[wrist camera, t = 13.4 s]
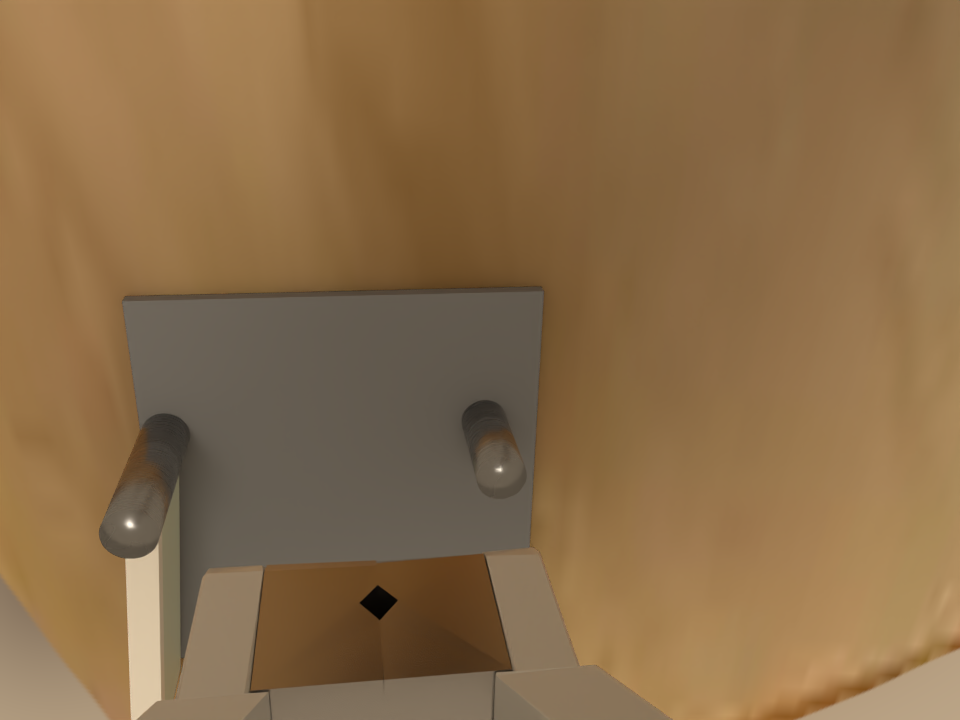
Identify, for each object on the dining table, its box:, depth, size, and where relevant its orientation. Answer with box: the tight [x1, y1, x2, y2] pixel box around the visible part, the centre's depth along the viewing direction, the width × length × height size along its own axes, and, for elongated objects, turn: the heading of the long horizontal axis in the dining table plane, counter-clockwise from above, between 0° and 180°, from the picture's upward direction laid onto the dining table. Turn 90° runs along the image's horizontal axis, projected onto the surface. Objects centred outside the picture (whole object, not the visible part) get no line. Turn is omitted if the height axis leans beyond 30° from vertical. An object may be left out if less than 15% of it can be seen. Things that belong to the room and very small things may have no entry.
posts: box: [99, 400, 527, 559], centre depth 36 cm, size 16×2×8 cm, turn 89°
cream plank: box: [125, 476, 181, 720], centre depth 38 cm, size 11×1×5 cm, turn 173°
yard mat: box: [122, 287, 544, 658], centre depth 41 cm, size 17×18×1 cm
